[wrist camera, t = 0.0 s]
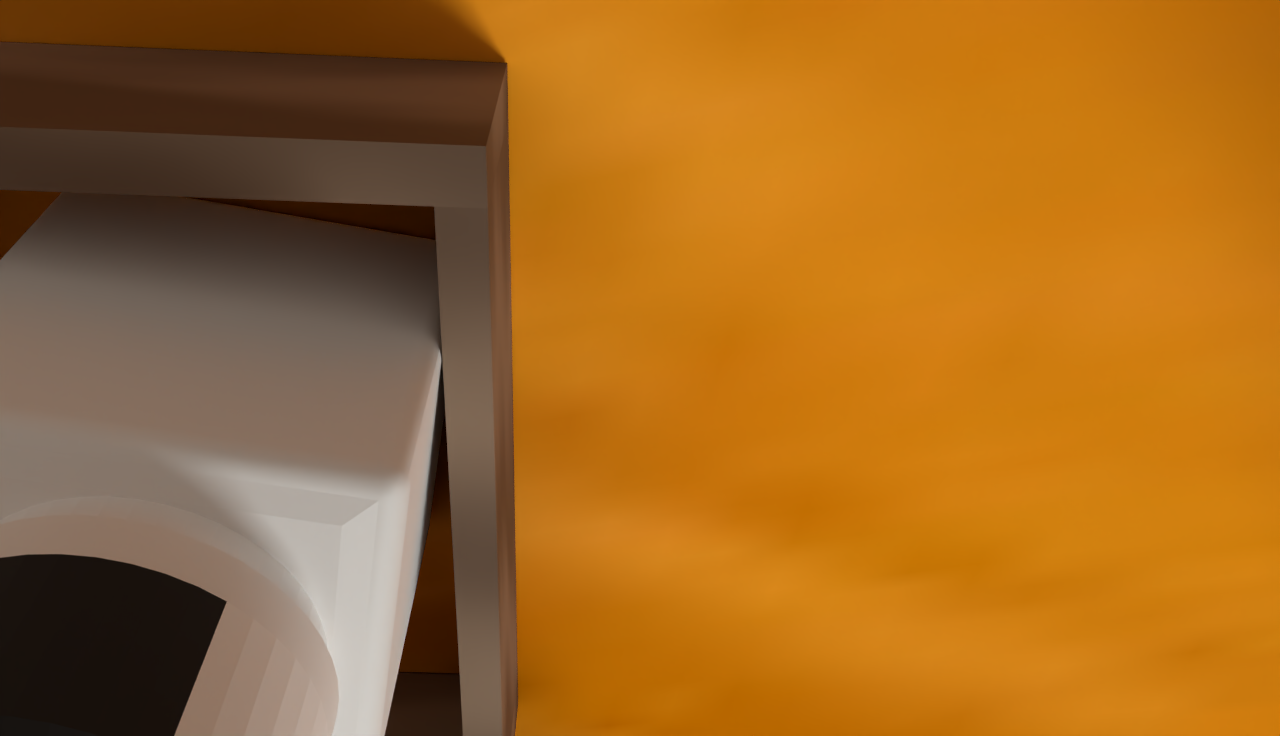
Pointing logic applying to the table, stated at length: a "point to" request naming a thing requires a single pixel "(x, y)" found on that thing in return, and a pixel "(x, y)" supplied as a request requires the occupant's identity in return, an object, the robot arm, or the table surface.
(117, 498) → the medicine bottle
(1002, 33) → the table surface
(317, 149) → the walnut rack
